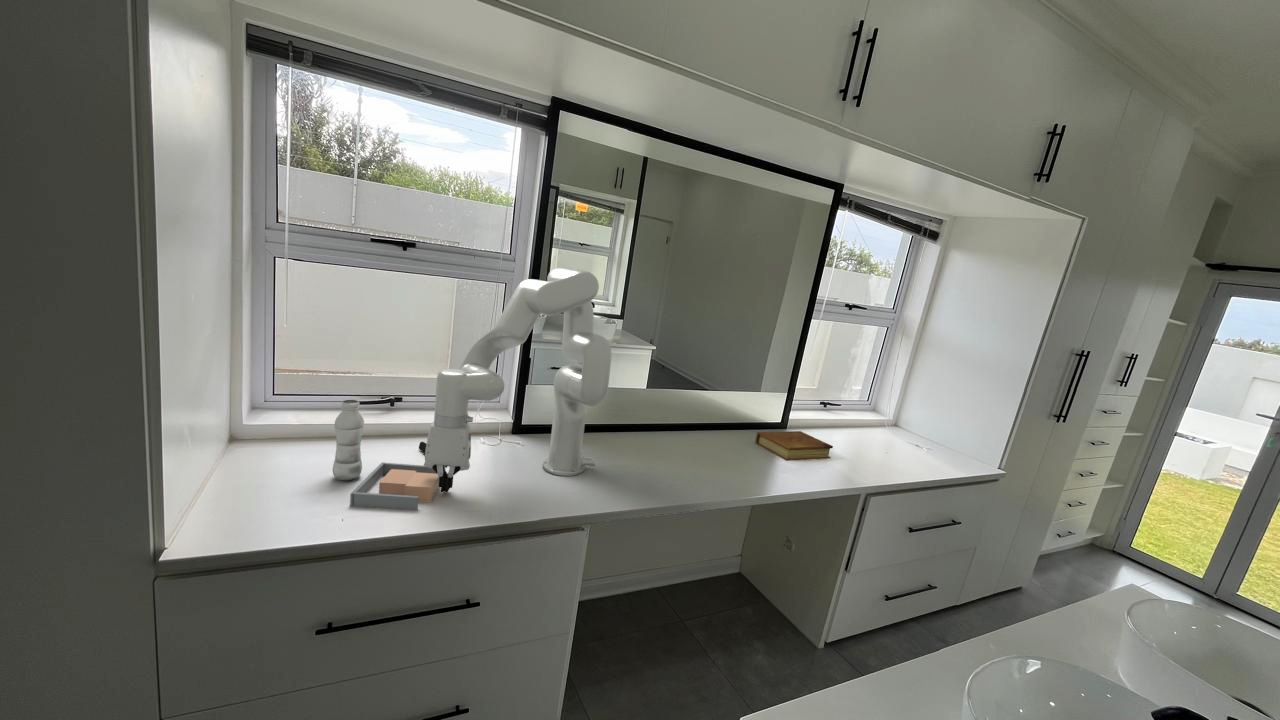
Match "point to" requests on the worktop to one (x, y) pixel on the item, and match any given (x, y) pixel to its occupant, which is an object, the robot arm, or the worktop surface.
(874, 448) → the worktop surface
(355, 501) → the organizer bay
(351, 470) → the plastic bottle
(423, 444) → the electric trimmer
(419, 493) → the tile
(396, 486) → the tile
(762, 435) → the diary
